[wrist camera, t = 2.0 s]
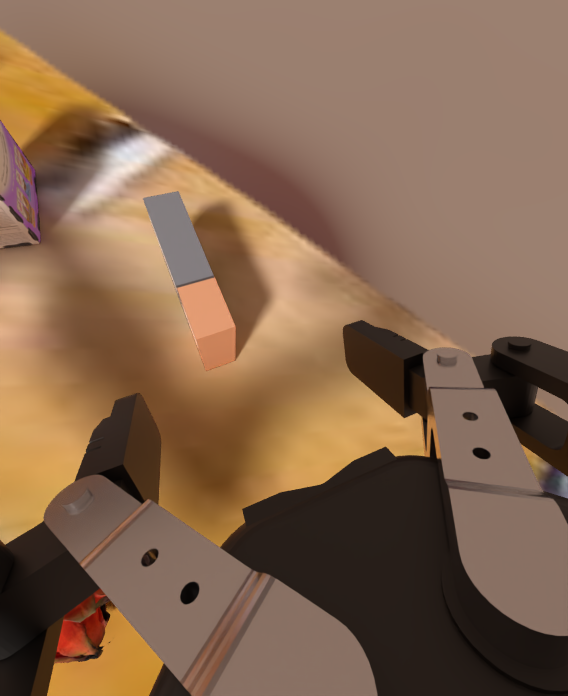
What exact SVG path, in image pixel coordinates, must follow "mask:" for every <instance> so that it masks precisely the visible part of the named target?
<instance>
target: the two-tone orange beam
mask: <svg viewBox="0 0 568 696" xmlns="http://www.w3.org/2000/svg"><path fill="white" fill-rule="evenodd" d="M177 290H178V293H179V296H180V299H181V302H182V306H183V309H184V312H185V314H186V317H187V320H188V323H189V326H190V329H191V332H192V334H193V337H194V340H195V342H196V345H197V348H198V350H199V353H200V356H201V358H202V361H203V364H204V366H205V369H206V371H208V370H210V369H213V368H216V367H219V366H221V365H224V364H227V363H230V362H232V361H235V338H236V326H235V324H234V322H233V319H232V317H231V315H230V312H229V310H228V307H227V305H226V303H225V300H224V298H223V295H222V293H221V291H220V288H219V286H218V284H217V281H216V279H215V277H214V278H211V279H207V280H204V281H200V282H197V283H193V284H190V285H186V286H182V287H179V288H177Z"/></svg>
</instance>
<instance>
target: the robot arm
mask: <svg viewBox="0 0 568 696" xmlns="http://www.w3.org/2000/svg"><path fill="white" fill-rule="evenodd" d="M343 338H344V348H345V357H346V363H347V366H348V368H349V370H350V371H351V373H352V374H353V375H355V376H356V377H357V378H358V379H359V380H360V381H362V382H363V383H364V384H365V385H366V386H367V387H369V388H370V389H371V390H372V391H373V392H374V393H376V394H377V395H378V396H379V397H380V398H381V399H383V400H384V401H385V402H386V403H387V404H388V405H390V406H391V407H392V408H393V409H394V410H395V411H397V412H398V413H399V414H400V415H401V416H402V417H404V418H406V417H408V416H410V415H413V414H415V413H418V414H419V415H420V416H422V420H421V424H422V434H423V444H424V455H425V456H415V455H406V456H396V457H395V456H394V455H393V454H392V453H391V452H390V451H389V449H388V448H387V447H384V448H382V449H379V450H377V451H375V452H372V453H370V454H368V455H366V456H363V457H361V458H359V459H356V460H354V461H352V462H351V463H350V464H349V465H347V466H346V467H345V468H343V469H342V470H341V471H339V472H338V473H337V474H336V475H334V476H333V477H332V478H330V479H329V480H328V481H326V482H325V483H323V484H321V485H317V486H312V487H306V488H301V489H296V490H291V491H285V492H280V493H278V494H276V495H274V496H271V497H269V498H267V499H264V500H262V501H260V502H257V503H255V504H253V505H251V506H248V507H246V508H244V509H242V510H243V515H244V519H245V523H244V524H243V525H242V526H240V527H239V528H238V529H237V530H236V531H235V532H234V533H232V534H231V535H230V536H229V538H228V539H227V540H226V541H225V542H224V543H223V544H222V546H221V547H218V546H217V545H215V544H214V543H212V542H211V541H210V540H208V539H207V538H205V537H204V536H202V535H201V534H199V533H198V532H197V531H195V530H194V529H192V528H191V527H189V526H188V525H186V524H185V523H184V522H182V521H181V520H179V519H178V518H176V517H175V516H173V515H172V514H171V513H169V512H168V511H166V510H165V509H163V508H162V507H160V506H159V505H158V500H159V479H160V458H161V438H160V433H159V430H158V428H157V425H156V423H155V421H154V419H153V417H152V415H151V413H150V411H149V409H148V407H147V405H146V403H145V401H144V399H143V397H142V395H141V394H140V393H136V394H133V395H130V396H127V397H124V398H121V399H118V400H116V401H115V404H114V407H113V410H112V413H111V416H110V417H108V418H105V419H103V420H102V421H101V422H100V424H99V425H98V426H97V427H96V428H95V429H94V431H93V433H92V436H91V438H90V441H89V442H90V444H88V447H87V449H86V453H85V455H84V457H83V460H82V463H81V465H80V468H79V471H78V474H77V476H76V479H75V482H74V483H72V484H70V485H69V486H67V487H66V488H65V489H63V490H62V491H61V492H60V493H59V494H58V495H57V496H56V497H55V498H54V499H53V500H52V501H51V502H50V504H49V505H48V507H47V509H46V511H45V513H44V521H43V522H42V523H40V524H39V525H37V526H36V527H34V528H32V529H31V530H29V531H27V532H26V533H24V534H22V535H21V536H19V537H17V538H16V539H14V540H12V541H11V542H9V543H7V544H6V545H5V544H4V543H3V542H2V541H1V540H0V696H47V693H48V688H49V683H50V679H51V674H52V670H53V665H54V661H55V656H56V651H57V647H58V642H59V638H60V633H61V629H62V624H63V619H64V615H66V614H67V613H68V612H70V611H71V610H72V609H74V608H75V607H76V606H78V605H79V604H80V603H82V602H83V601H84V600H86V599H87V598H88V597H89V596H91V595H92V594H93V593H95V592H96V591H97V590H99V589H100V588H101V590H102V591H103V592H104V593H105V594H106V596H107V597H108V598H109V599H110V600H111V601H112V603H113V604H114V605H115V606H116V607H117V608H118V610H119V611H120V612H121V613H122V614H123V615H124V617H125V618H126V619H127V620H128V621H129V623H130V624H131V625H132V626H133V627H134V628H135V630H136V631H137V632H138V633H139V634H140V635H141V637H142V638H143V639H144V640H145V641H146V643H147V644H148V645H149V646H150V647H151V648H152V650H153V651H154V652H155V653H156V654H157V655H158V657H159V658H160V659H161V660H162V661H163V662H164V664H163V666H162V669H161V671H160V673H159V675H158V677H157V679H156V682H155V684H154V686H153V688H152V690H151V693H150V695H149V696H568V498H564V497H561V496H558V495H554V494H551V493H548V492H545V491H542V489H541V488H540V486H539V484H538V481H537V479H536V477H535V475H534V473H533V470H532V468H531V466H530V464H529V462H528V459H527V457H526V455H525V453H524V451H523V448H522V446H521V444H522V445H523V446H525V447H526V448H528V449H529V450H531V451H532V452H533V453H535V454H536V455H538V456H539V457H541V458H542V459H543V460H545V461H546V462H548V463H549V464H551V465H552V466H553V467H555V468H556V469H558V470H559V471H561V472H562V473H563V474H565V475H566V476H568V421H566V420H564V419H562V418H560V417H559V416H557V415H555V414H553V413H551V412H550V411H548V410H546V409H544V408H542V407H540V406H539V405H537V404H535V399H536V394H537V390H538V387H539V388H541V389H543V390H545V391H547V392H549V393H551V394H553V395H555V396H557V397H559V398H561V399H563V400H564V401H565V402H566V403H567V404H568V352H567V351H564V350H562V349H559V348H556V347H553V346H551V345H548V344H545V343H543V342H540V341H537V340H534V339H530V338H524V337H504V338H499V339H497V340H495V341H494V342H493V343H492V349H491V354H490V355H483V356H476V357H471V356H470V355H469V354H468V353H467V352H465V351H462V350H459V349H455V348H435V349H431V350H427V349H425V348H423V347H421V346H419V345H417V344H416V343H414V342H412V341H410V340H408V339H407V340H406V339H405V338H404V337H402V336H400V335H399V336H398V334H396V333H394V332H392V331H390V330H387V329H382V328H378V327H374V326H372V325H370V324H369V323H367V322H365V321H363V320H360V321H357V322H354V323H351V324H348V325H345V326H344V327H343ZM520 443H521V444H520Z"/></svg>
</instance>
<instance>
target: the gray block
mask: <svg viewBox="0 0 568 696" xmlns="http://www.w3.org/2000/svg"><path fill="white" fill-rule="evenodd" d="M143 200H144V203H145V206H146V208H147V211H148V214H149V218H150V221H151V224H152V227H153V229H154V232H155V235H156V237H157V240H158V243H159V245H160V248H161V251H162V254H163V257H164V260H165V262H166V265H167V268H168V270H169V273H170V276H171V278H172V281H173V284H174V286H175V289H176V292H177V294H178V297H179V300H180V302H181V299H180V296H179V293H178V290H177V288H179V287H182V286H186V285H190V284H193V283H197V282H200V281H204V280H207V279H211V278H214V275H213V273H212V270H211V268H210V265H209V263H208V261H207V258H206V256H205V253H204V251H203V249H202V246H201V244H200V242H199V239H198V237H197V234H196V232H195V230H194V227H193V225H192V223H191V220H190V218H189V215H188V213H187V211H186V208H185V206H184V204H183V201H182V199H181V196H180V194H179V192H178V191H177V192H172V193H167V194H162V195H157V196H151V197H146V198H143ZM181 305H182V302H181ZM182 308H183V306H182ZM183 310H184V309H183ZM184 313H185V312H184ZM185 316H186V314H185ZM186 318H187V317H186ZM187 321H188V320H187ZM188 324H189V323H188Z"/></svg>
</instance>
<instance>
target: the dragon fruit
mask: <svg viewBox="0 0 568 696" xmlns="http://www.w3.org/2000/svg"><path fill="white" fill-rule="evenodd" d="M109 601H111V600H110V599H109V598H108V597H107V596H106V594H105V593H104V592H103V591H102V590H101V588H100V589H99V590H97V591H96V592H95V593H93V594H92V595H91V596H89V597H88V598H87V599H86V600H84V601H83V602H82V603H80V604H79V605H78V606H76V607H75V608H74V609H72V610H71V611H70V612H68V613H67V614H66V615H64V619H63V624H62V629H61V633H60V638H59V642H58V647H57V651H56V656H55V661H54V663H62V662H63V663H65V662H66V663H68V662H72V661H78V662H80V661H81V662H82V661H87V660H89V659H96V658H98V657H99V656H100V655H101V654H102V652H103V650H101V649H102V648H103V647H104V646H102V647H99V645H100V643H101V642H102V640H103V637H104V635H105V627H106V625H107V623H108V621H109V618H110V614H109V613H108V612H106V603H107V602H109ZM109 643H110V642H109Z"/></svg>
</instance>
